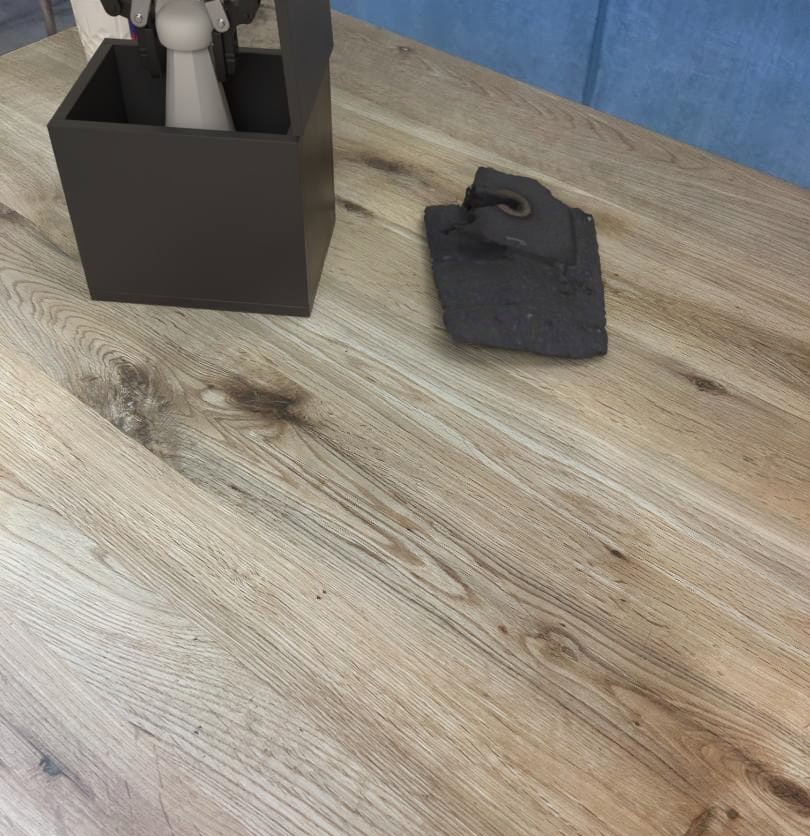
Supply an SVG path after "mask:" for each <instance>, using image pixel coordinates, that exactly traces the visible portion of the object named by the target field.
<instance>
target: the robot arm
mask: <svg viewBox="0 0 810 836" xmlns="http://www.w3.org/2000/svg"><path fill="white" fill-rule="evenodd" d="M100 2H101V4H102V6H103V8H104V10H105V12H106V13H107V14H108V15H110V16H112V17H116V16H118V15H120V16H122V17H125V18H127V19H129V20H130V21H131V22H132V23H133V24H134V26H135V30H136V35H137V41H138V47H139V52H140V58H141V63H142V64H143V66H144V68H145V69H150V73H151V76H152V78H162V77H163V76H164V74H165V72H166V70H167V55H166V48H165V46H164V45H162V44H161V42H160V40H159V38H158V34H157V30H156V26H155V15H156V12H155V9H156V3H157V0H100ZM200 2H202V3H204V5H205V7H206V10H207V12H208V14H209V17H210V19H211V22H212V24H213V27H214V29H213V31H212V41H213V44H212V45H213V49H214V57H215V65H216V74H217V80H218V82H228V81H229V79H230V77H231V75H232V74H233V75H234V73H235V71H236V69H237V67H238V64H239V61H240V55H239V47H240V46H239V37H238V26H240V25H245V26H246V25H250V24H252V23H253V21H254V20H255V18H256V15H257V13H258V11H259V9H260V7H261V3H262V0H200Z"/></svg>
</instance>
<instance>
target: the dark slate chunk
mask: <svg viewBox="0 0 810 836" xmlns="http://www.w3.org/2000/svg"><path fill="white" fill-rule="evenodd" d="M464 193H465V196H464V198H463V199H464V200H463V201H462V205H459V204H454V203H452V204H448V205H447V204H436V205H435V204H434V205H425V208H424V210H423V213H424V215H423V222H424V223H425V225H424V226H425V231H426V232H425V235H426V241H427V248H428V250H429V258H430V259H431V267H430V268H431V269H432V272H433V273H432V276H433V282H434V285H435V286H436V289H437V294H438V299H439V301H440V305H441V308H442V324H443V325H444V328H445V329H446V332H447V333H448V335H449V337H450V339H451V340H452V341H453V342H455V343H456V344H468V345H474V346H483V347H484V348H491V349H502V350H508V351H523V352H524V351H525V352H530V353H533V354H536V355H539V356H545V357H559V358H570V359H574V360H579V359H582V358H593V357H595V356H607V354H608V343H609V337H608V332H607V329H606V326H607V318H606V315H607V311H606V309H605V308H606V303H605V287H604V282H603V279H602V269H601V268H602V267H601V266H602V264H601V256H600V253H599V247H600V246H599V242H598V238H597V230H596V223H595V219H594V217H593V214H592V213H588V212H585V211H584V210H582V208H580V207H570V206H569V205H567V204H565V203H564V202H563V201H562V200H561V199H558V198H557V197H555V196H553V194H552V192H551V189H549V188H547V187H546V186H544V185H543V184H541V183H540V182H539V181H538V180H537V179H535V178H532V177H529V176H522V175H516V174H512V173H505V172H503V171H500V170H498V169H495V168H494V167H491V166H487V167H485V166H484V165H483V166H478V168H477V170H476V172H475V174H474V178H473V182H472V183H471V184H470V185H468V186H467V187H466V188H465V192H464Z"/></svg>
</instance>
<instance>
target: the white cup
mask: <svg viewBox="0 0 810 836" xmlns="http://www.w3.org/2000/svg"><path fill="white" fill-rule="evenodd" d="M69 1H70V7H71V10H72V13H73V18H74V22H75V25H76V27H77V31H78V36H79V39H80V41H81V44H82V46H83V50H84V54H85V58H86V62H87V63H88V62H89V61H90V59H91V58H92V56H93V55H94V53H95V52H96V50H97V49H98V47H99V46H100V44H101V43H102V41H103V40H104V38H116V39H131V35H130V30H129V24H128V19H127V18H125V17H122V16H120V15H118V16H116V17H112V16H110V15H108V14H107V13H106V12H105V10H104V8H103V6H102V4H101V2H100V0H69Z"/></svg>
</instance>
